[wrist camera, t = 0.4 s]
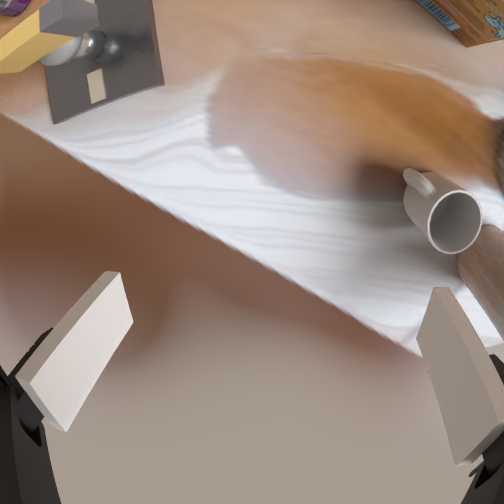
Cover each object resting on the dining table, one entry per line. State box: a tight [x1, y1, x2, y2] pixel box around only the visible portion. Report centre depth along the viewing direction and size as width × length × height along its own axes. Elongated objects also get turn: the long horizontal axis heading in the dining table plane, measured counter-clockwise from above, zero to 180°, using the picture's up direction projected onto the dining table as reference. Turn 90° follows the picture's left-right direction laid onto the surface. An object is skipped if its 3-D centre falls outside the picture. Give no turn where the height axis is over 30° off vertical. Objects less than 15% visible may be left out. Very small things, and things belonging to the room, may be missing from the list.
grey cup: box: [403, 168, 483, 254], centre depth 31 cm, size 7×10×9 cm
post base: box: [45, 0, 165, 124], centre depth 28 cm, size 18×18×7 cm
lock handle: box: [0, 0, 99, 74], centre depth 21 cm, size 6×13×8 cm, turn 99°
